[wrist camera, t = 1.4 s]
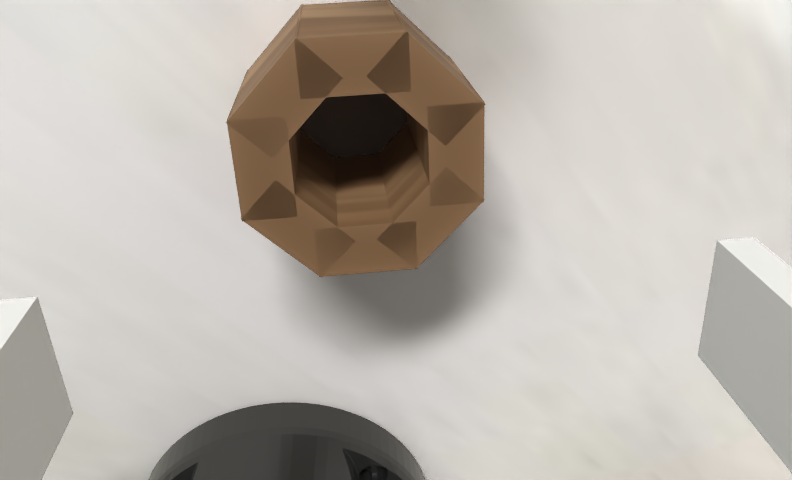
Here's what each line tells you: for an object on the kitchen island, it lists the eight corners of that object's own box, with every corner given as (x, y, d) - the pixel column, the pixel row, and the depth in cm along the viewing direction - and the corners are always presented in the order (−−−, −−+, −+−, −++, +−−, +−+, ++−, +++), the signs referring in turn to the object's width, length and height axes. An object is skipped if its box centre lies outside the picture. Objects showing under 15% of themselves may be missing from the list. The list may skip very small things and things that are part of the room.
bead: (451, 189, 32) (484, 263, 25) (265, 203, 31) (250, 283, 25) (449, -5, 28) (486, 25, 22) (238, 8, 27) (214, 43, 21)
